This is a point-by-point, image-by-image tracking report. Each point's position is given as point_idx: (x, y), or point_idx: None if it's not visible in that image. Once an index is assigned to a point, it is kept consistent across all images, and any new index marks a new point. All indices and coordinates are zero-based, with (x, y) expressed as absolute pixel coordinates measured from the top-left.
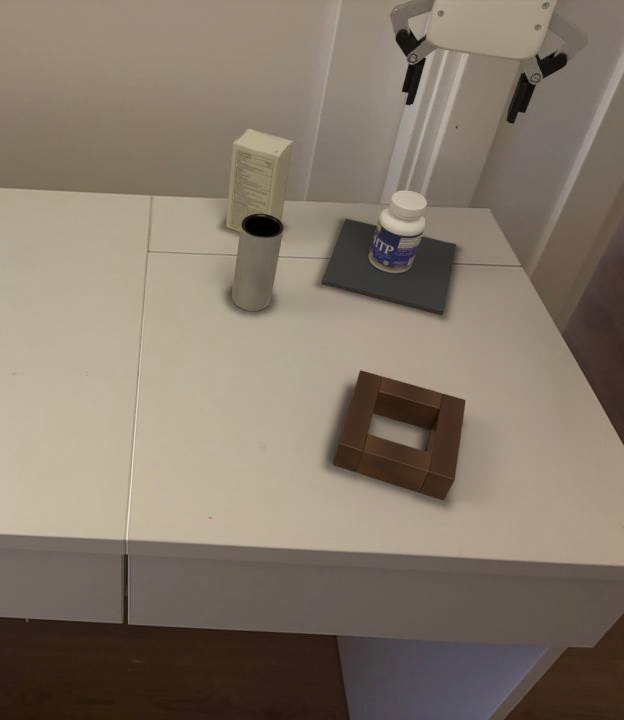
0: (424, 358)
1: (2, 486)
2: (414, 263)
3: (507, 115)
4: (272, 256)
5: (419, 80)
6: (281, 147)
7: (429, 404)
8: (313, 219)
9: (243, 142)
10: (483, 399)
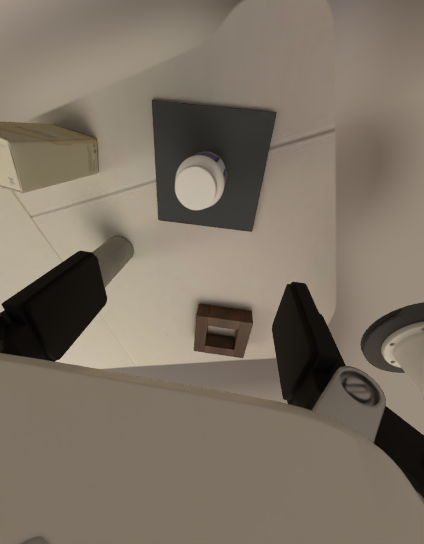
0: (237, 273)
1: (91, 358)
2: (229, 170)
3: (278, 312)
4: (109, 282)
5: (76, 320)
6: (8, 166)
7: (233, 328)
8: (121, 108)
9: None
10: (269, 295)
